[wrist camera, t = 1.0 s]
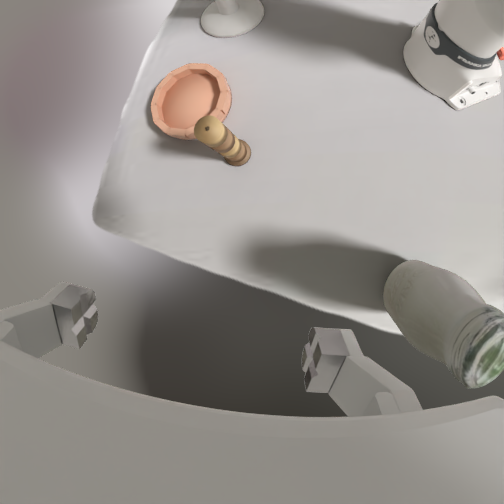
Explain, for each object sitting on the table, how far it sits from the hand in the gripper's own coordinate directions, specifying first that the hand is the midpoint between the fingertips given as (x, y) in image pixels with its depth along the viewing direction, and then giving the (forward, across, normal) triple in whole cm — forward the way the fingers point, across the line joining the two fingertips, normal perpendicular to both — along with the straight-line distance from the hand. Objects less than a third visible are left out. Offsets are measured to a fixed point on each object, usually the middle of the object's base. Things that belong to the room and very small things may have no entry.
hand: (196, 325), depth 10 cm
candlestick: (+48, +8, -33) cm, 59 cm away
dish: (+44, +11, -12) cm, 47 cm away
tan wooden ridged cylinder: (+40, +2, -4) cm, 40 cm away
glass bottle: (+30, -28, +10) cm, 42 cm away
